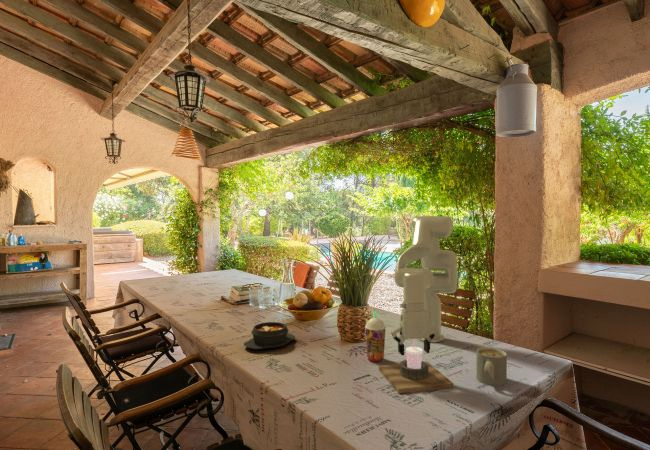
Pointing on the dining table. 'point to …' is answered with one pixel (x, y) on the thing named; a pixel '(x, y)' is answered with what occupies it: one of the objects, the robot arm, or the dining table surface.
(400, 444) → the dining table surface
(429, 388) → the socket board
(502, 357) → the coffee mug
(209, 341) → the dining table surface
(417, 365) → the beverage cup
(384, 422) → the dining table surface
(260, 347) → the casserole
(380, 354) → the smoothie
